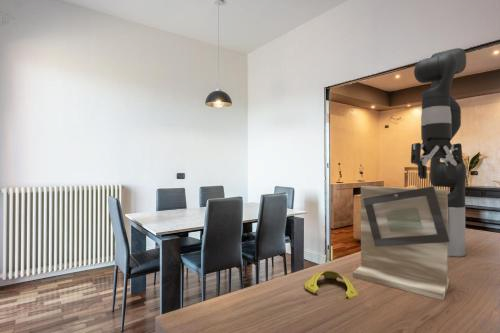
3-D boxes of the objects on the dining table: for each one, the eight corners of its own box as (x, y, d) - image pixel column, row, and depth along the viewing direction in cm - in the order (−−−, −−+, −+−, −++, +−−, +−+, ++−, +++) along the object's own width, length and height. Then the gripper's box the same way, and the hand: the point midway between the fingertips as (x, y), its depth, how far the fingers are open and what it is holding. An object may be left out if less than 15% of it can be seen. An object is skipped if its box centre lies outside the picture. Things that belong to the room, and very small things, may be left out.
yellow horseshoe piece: (330, 277, 84) (330, 263, 84) (367, 294, 73) (367, 277, 73) (296, 287, 78) (296, 272, 77) (332, 307, 67) (332, 289, 67)
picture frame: (376, 245, 83) (364, 198, 85) (449, 240, 72) (433, 186, 74) (374, 247, 81) (362, 198, 83) (448, 242, 70) (432, 186, 72)
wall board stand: (366, 265, 92) (366, 185, 92) (449, 283, 78) (449, 188, 78) (352, 277, 83) (352, 188, 83) (443, 300, 69) (443, 192, 68)
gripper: (448, 126, 89) (449, 178, 88) (405, 125, 87) (405, 178, 87) (469, 122, 81) (470, 179, 80) (421, 120, 80) (422, 178, 79)
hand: (436, 178), depth 84 cm, fingers open, 8 cm apart
